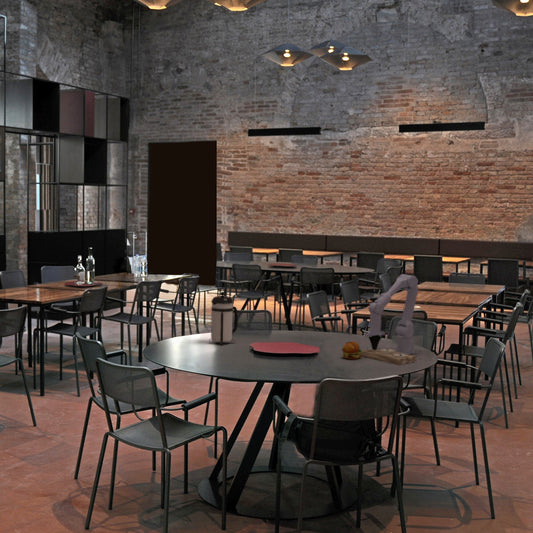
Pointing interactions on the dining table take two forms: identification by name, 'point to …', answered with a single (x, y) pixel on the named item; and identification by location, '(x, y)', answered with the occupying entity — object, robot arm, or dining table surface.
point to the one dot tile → (373, 350)
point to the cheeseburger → (351, 350)
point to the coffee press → (223, 319)
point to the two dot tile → (387, 351)
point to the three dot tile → (400, 355)
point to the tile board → (388, 357)
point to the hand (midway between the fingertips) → (374, 349)
